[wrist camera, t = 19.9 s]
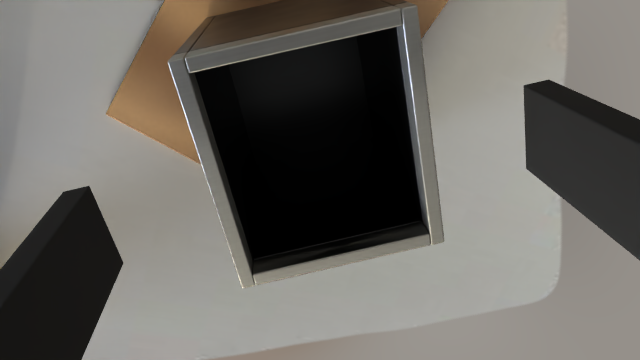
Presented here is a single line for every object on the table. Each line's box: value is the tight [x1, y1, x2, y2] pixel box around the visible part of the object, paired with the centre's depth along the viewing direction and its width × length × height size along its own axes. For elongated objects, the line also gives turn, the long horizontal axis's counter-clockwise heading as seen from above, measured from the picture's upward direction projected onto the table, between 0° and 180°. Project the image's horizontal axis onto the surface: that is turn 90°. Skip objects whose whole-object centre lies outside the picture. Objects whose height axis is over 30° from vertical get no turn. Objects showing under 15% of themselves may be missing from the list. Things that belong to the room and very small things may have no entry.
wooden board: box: [106, 0, 448, 165], centre depth 31 cm, size 20×14×1 cm
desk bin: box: [168, 0, 444, 288], centre depth 26 cm, size 13×9×10 cm
